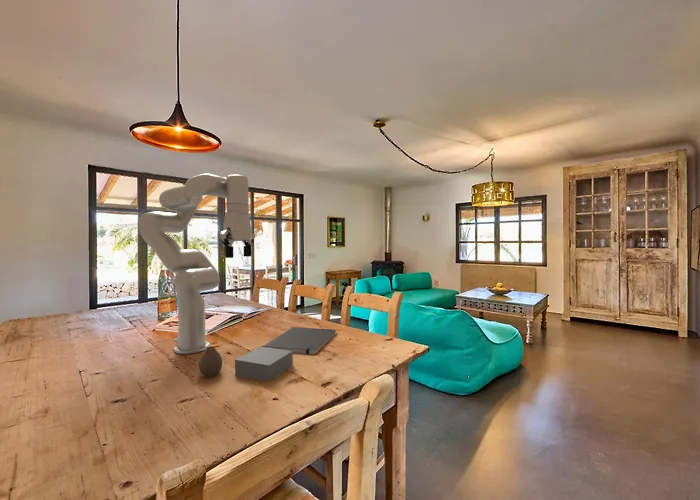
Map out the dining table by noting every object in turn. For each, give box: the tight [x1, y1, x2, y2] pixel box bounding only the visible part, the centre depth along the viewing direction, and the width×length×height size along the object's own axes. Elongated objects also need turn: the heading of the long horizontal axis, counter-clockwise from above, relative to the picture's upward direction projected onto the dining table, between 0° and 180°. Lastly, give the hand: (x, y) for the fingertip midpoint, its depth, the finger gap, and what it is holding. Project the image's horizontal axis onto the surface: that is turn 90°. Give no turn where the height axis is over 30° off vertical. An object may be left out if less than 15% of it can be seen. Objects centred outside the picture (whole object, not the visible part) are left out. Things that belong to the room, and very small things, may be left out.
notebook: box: [262, 326, 337, 355], centre depth 133 cm, size 22×2×28 cm
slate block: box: [234, 346, 294, 383], centre depth 103 cm, size 13×13×5 cm
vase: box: [198, 345, 223, 378], centre depth 100 cm, size 7×7×9 cm
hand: (238, 257), depth 114 cm, fingers open, 9 cm apart
